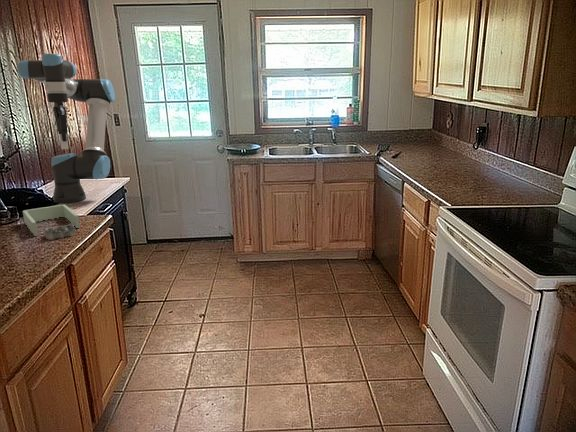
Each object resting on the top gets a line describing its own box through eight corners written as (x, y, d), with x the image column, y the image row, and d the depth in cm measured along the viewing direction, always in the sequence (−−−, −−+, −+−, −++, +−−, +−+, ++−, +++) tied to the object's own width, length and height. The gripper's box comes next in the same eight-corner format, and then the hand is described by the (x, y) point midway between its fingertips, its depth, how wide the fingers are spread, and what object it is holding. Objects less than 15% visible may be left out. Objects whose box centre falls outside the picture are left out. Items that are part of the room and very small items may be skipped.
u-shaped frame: (24, 223, 189) (22, 210, 188) (66, 216, 199) (64, 204, 198) (34, 236, 172) (32, 222, 171) (79, 228, 182) (78, 215, 180)
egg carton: (46, 241, 168) (44, 231, 166) (44, 236, 174) (42, 225, 173) (77, 236, 173) (75, 226, 172) (74, 231, 179) (73, 221, 178)
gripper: (43, 92, 191) (52, 148, 198) (50, 92, 181) (59, 151, 188) (63, 92, 196) (70, 146, 202) (70, 92, 186) (78, 149, 192)
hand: (65, 148), depth 195 cm, fingers closed
